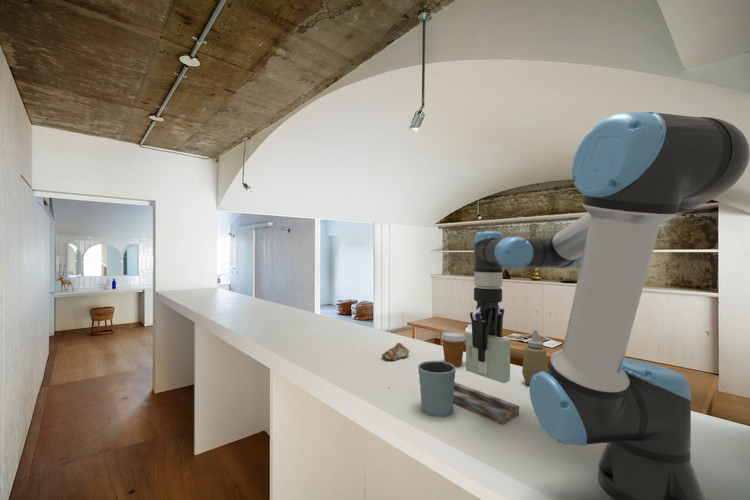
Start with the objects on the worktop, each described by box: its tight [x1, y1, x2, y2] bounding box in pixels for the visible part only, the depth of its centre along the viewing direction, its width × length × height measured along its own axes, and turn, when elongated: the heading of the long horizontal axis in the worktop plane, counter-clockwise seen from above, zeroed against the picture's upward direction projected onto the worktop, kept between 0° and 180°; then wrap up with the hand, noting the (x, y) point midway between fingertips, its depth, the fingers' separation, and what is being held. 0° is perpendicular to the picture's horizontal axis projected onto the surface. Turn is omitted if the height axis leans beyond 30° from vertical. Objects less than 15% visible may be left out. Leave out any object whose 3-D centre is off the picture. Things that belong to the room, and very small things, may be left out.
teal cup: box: [418, 360, 457, 417], centre depth 95 cm, size 10×10×12 cm
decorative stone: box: [381, 342, 410, 362], centre depth 144 cm, size 10×4×15 cm
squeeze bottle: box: [521, 329, 549, 387], centre depth 114 cm, size 8×8×18 cm
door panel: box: [465, 330, 511, 384], centre depth 95 cm, size 12×3×11 cm, turn 39°
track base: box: [453, 381, 520, 425], centre depth 99 cm, size 24×8×2 cm, turn 39°
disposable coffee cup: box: [440, 331, 466, 368], centre depth 134 cm, size 10×10×12 cm
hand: (487, 371), depth 95 cm, fingers closed on door panel, 3 cm apart
